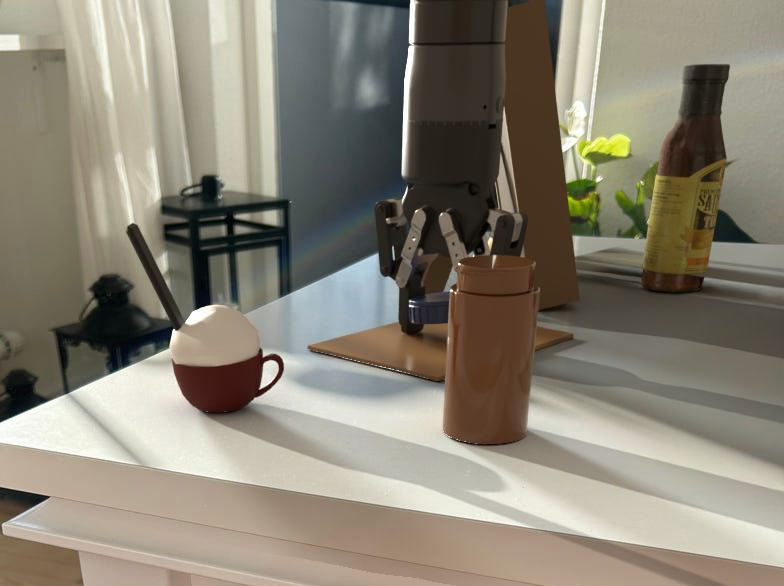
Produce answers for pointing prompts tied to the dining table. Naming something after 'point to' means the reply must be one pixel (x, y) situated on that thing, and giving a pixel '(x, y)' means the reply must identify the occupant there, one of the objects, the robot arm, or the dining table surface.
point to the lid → (429, 308)
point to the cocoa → (210, 347)
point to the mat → (410, 347)
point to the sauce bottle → (688, 185)
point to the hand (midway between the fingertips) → (441, 337)
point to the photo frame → (531, 161)
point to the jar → (490, 349)
